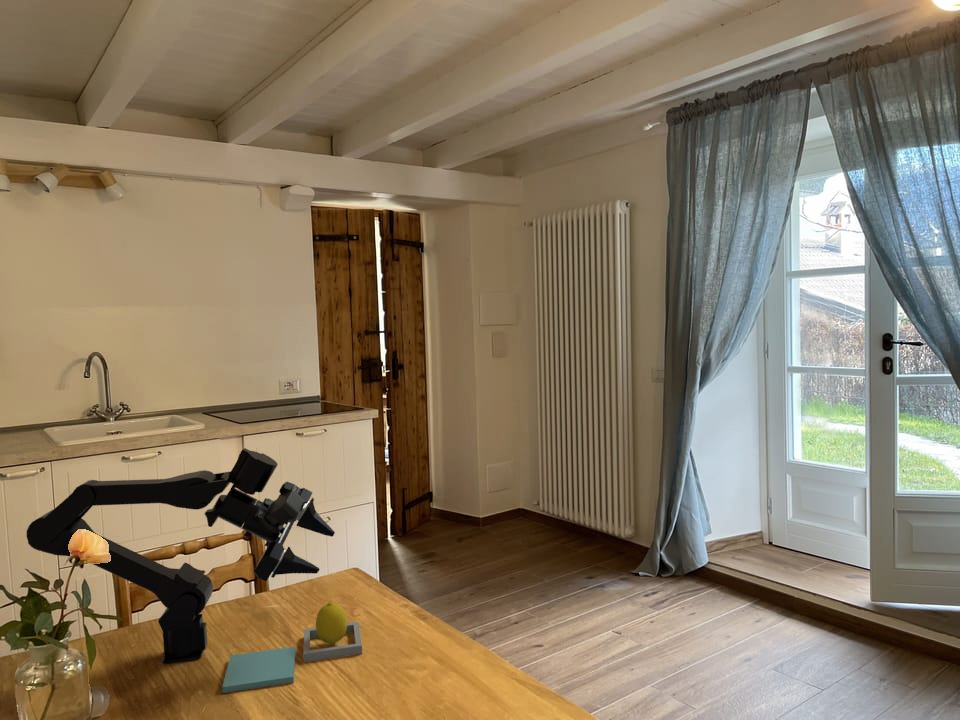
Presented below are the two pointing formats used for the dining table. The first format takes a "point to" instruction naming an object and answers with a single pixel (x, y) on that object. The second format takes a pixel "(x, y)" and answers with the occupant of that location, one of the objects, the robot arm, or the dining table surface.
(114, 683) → the dining table surface
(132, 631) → the dining table surface
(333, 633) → the lemon
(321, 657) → the holder
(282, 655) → the tile
